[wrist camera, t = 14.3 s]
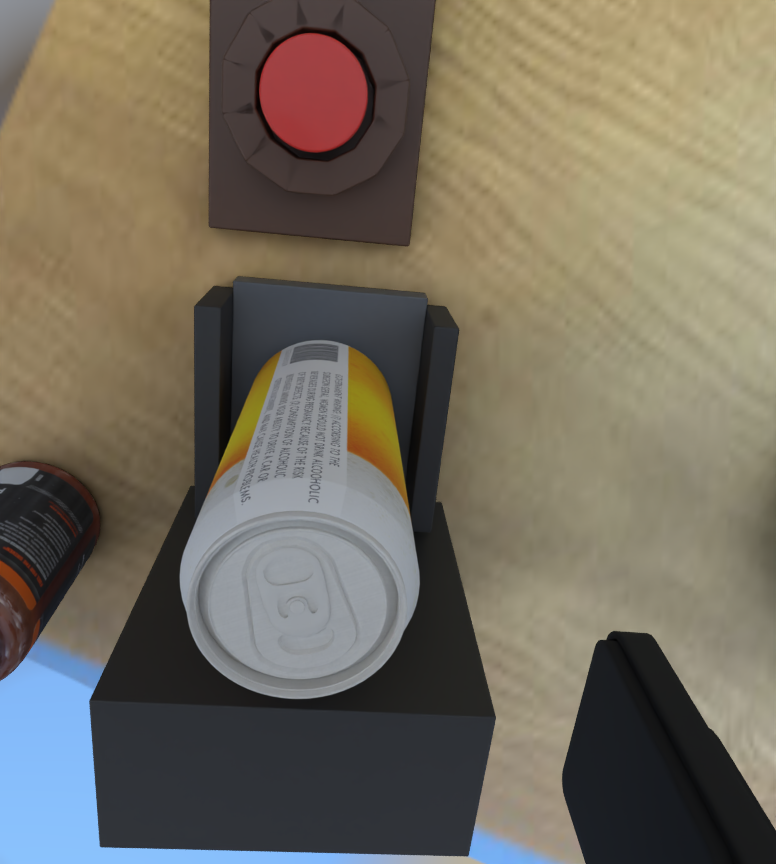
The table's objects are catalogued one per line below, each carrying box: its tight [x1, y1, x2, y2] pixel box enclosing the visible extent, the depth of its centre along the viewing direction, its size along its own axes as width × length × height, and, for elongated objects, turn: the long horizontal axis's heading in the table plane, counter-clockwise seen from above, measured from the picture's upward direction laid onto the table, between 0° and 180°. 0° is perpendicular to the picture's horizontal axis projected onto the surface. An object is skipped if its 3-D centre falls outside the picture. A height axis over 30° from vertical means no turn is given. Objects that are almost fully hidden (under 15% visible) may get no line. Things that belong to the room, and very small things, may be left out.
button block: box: [209, 0, 436, 246], centre depth 26 cm, size 8×10×3 cm
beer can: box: [180, 340, 420, 699], centre depth 24 cm, size 6×6×15 cm
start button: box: [259, 33, 368, 153], centre depth 24 cm, size 4×4×2 cm
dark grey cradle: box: [89, 276, 496, 856], centre depth 27 cm, size 12×16×14 cm
